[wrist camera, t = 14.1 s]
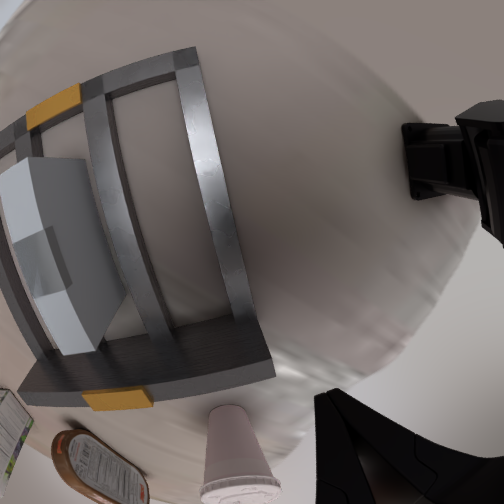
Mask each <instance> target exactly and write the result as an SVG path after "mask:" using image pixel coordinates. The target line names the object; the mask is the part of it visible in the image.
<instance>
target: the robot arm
mask: <svg viewBox="0 0 504 504" xmlns="http://www.w3.org/2000/svg"><path fill="white" fill-rule="evenodd" d="M455 120H456V123H457V125H459V126H449V125H448V124H432V123H405V124H403V126H402V130H403V135H404V141H405V147H406V153H407V160H408V168H409V177H410V186H411V196H412V198H413V199H414V200H423V199H427V198H432V197H436V196H441V195H445V194H449V195H454V196H459V197H464V198H469V199H473V200H478V201H479V205H480V211H481V217H482V219H481V224H482V228H484V229H485V230H486V231H488V232H489V233H490V234H492V235H493V236H494V237H495V238H496V239H498V240H499V241H500V242H501V243H502V244H503V248H504V101H503V100H493V101H486V102H480V103H478V104H476V105H474V106H473V107H471V108H469V109H468V110H466V111H465V112H463V113H461V114H459V115H458V116H456V117H455ZM407 127H408V129H409V131H408V129H407ZM416 193H417V196H416ZM314 408H315V432H316V479H317V480H316V502H315V504H504V456H500V457H494V458H483V457H477V456H473V455H469V454H466V453H463V452H459V451H456V450H453V449H450V448H447V447H444V446H442V445H439V444H436V443H434V442H432V441H430V440H428V439H426V438H424V437H422V436H420V435H418V434H415V433H414V432H412V431H410V430H408V429H407V428H405V427H403V426H401V425H399V424H397V423H396V422H394V421H392V420H390V419H389V418H387V417H385V416H383V415H381V414H380V413H378V412H376V411H375V410H373V409H371V408H370V407H368V406H366V405H365V404H363V403H361V402H360V401H358V400H356V399H355V398H353V397H352V396H350V395H348V394H347V393H345V392H343V391H342V390H340V389H339V388H334V389H332V390H329V391H327V392H326V393H325V392H324V393H321V394H318V395H315V396H314Z"/></svg>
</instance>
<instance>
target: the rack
mask: <svg viewBox="0 0 504 504" xmlns="http://www.w3.org/2000/svg"><path fill="white" fill-rule="evenodd" d="M174 79H177V84H178V89H179V94H180V99H181V104H182V109H183V114H184V118H185V123H186V128H187V133H188V137H189V142H190V146H191V151H192V155H193V160H194V164H195V168H196V173H197V177H198V181H199V186H200V190H201V194H202V198H203V202H204V206H205V210H206V214H207V219H208V222H209V226H210V230H211V234H212V238H213V242H214V246H215V250H216V254H217V257H218V261H219V265H220V269H221V272H222V276H223V280H224V283H225V287H226V291H227V294H228V298H229V301H230V305H231V308H232V312H233V314H231V315H227V316H223V317H219V318H215V319H211V320H207V321H203V322H199V323H194V324H190V325H186V326H181V327H177V328H175V327H174V325H173V322H172V320H171V317H170V315H169V312H168V310H167V307H166V305H165V302H164V299H163V297H162V294H161V291H160V288H159V286H158V283H157V280H156V277H155V274H154V271H153V268H152V265H151V262H150V259H149V256H148V253H147V250H146V247H145V244H144V240H143V237H142V234H141V230H140V227H139V224H138V220H137V217H136V213H135V209H134V206H133V202H132V198H131V194H130V190H129V186H128V182H127V178H126V173H125V169H124V164H123V160H122V155H121V150H120V145H119V140H118V135H117V129H116V124H115V118H114V111H113V105H112V99H114V98H117V97H119V96H122V95H125V94H128V93H131V92H134V91H137V90H140V89H143V88H146V87H149V86H152V85H156V84H159V83H163V82H166V81H170V80H174ZM83 111H84V119H85V126H86V133H87V139H88V145H89V150H90V156H91V161H92V166H93V170H94V175H95V179H96V184H97V188H98V192H99V196H100V200H101V204H102V207H103V211H104V215H105V218H106V222H107V225H108V229H109V232H110V235H111V238H112V241H113V245H114V248H115V251H116V254H117V257H118V260H119V262H120V265H121V268H122V271H123V274H124V276H125V279H126V282H127V284H128V287H129V289H130V292H131V295H132V297H133V300H134V302H135V304H136V307H137V309H138V312H139V314H140V316H141V319H142V321H143V323H144V325H145V328H146V330H147V332H148V334H144V335H139V336H133V337H128V338H123V339H117V340H112V341H105V339H104V337H102V339H101V341H100V343H99V345H98V347H97V349H96V351H91V352H84V353H77V354H70V355H63V354H62V353H61V351H60V349H53V347H52V346H51V344H50V342H49V340H48V339H47V337H46V335H45V333H44V331H43V329H42V327H41V325H40V323H39V321H38V319H37V317H36V315H35V313H34V311H33V309H32V307H31V305H30V302H29V300H28V298H27V296H26V293H25V291H24V289H23V286H22V284H21V281H20V279H19V276H18V273H17V271H16V268H15V265H14V262H13V259H12V256H11V253H10V250H9V247H8V244H7V241H6V237H5V234H4V230H3V226H2V222H1V218H0V288H1V290H2V293H3V295H4V298H5V300H6V302H7V304H8V307H9V309H10V311H11V313H12V315H13V317H14V319H15V321H16V323H17V325H18V327H19V329H20V331H21V333H22V335H23V337H24V338H25V340H26V342H27V344H28V346H29V347H30V349H31V351H32V352H33V354H34V356H35V357H36V359H37V361H36V362H35V364H34V365H33V367H32V368H31V370H30V371H29V373H28V374H27V376H26V378H25V379H24V381H23V382H22V384H21V385H20V387H19V389H18V390H17V393H18V394H19V395H20V397H21V398H22V399H23V400H24V402H25V403H26V404H27V405H32V406H50V407H91V408H92V409H93V411H110V410H126V409H138V408H148V407H153V404H154V402H157V401H164V400H171V399H178V398H184V397H190V396H196V395H201V394H206V393H211V392H216V391H221V390H225V389H230V388H234V387H239V386H243V385H247V384H251V383H255V382H258V381H262V380H266V379H269V378H273V377H276V373H275V369H274V365H273V361H272V357H271V355H270V352H269V349H268V347H267V344H266V341H265V339H264V336H263V333H262V331H261V328H260V325H259V322H258V320H257V316H256V312H255V308H254V304H253V300H252V295H251V291H250V287H249V283H248V279H247V274H246V270H245V266H244V262H243V257H242V253H241V249H240V245H239V240H238V236H237V232H236V227H235V223H234V219H233V214H232V210H231V206H230V201H229V197H228V193H227V188H226V184H225V179H224V175H223V171H222V166H221V162H220V157H219V153H218V148H217V144H216V139H215V135H214V130H213V126H212V121H211V116H210V112H209V107H208V103H207V98H206V93H205V89H204V84H203V79H202V75H201V70H200V65H199V60H198V56H197V51H196V46H195V47H190V48H186V49H181V50H177V51H173V52H169V53H165V54H161V55H158V56H154V57H151V58H147V59H144V60H141V61H138V62H135V63H132V64H129V65H126V66H123V67H120V68H118V69H115V70H112V71H110V72H107V73H105V74H102V75H100V76H98V77H95V78H93V79H91V80H88V81H86V82H84V83H82V84H80V83H77V84H75V85H73V86H71V87H69V88H67V89H65V90H63V91H61V92H59V93H58V94H56V95H54V96H52V97H50V98H49V99H47V100H45V101H43V102H42V103H40V104H38V105H37V106H35V107H33V108H32V109H30V110H28V111H27V112H26V114H25V115H24V116H22V117H21V118H19V119H18V120H16V121H15V122H13V123H12V124H10V125H9V126H8V127H6V128H5V129H4V130H2V131H1V132H0V158H2V157H3V156H5V155H6V154H8V153H9V152H11V151H12V150H14V149H16V157H17V163H19V162H20V161H22V160H23V159H25V158H27V157H43V150H42V143H41V135H40V133H41V132H43V131H45V130H47V129H49V128H50V127H52V126H54V125H56V124H58V123H60V122H62V121H64V120H66V119H68V118H70V117H72V116H74V115H76V114H78V113H81V112H83Z"/></svg>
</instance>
